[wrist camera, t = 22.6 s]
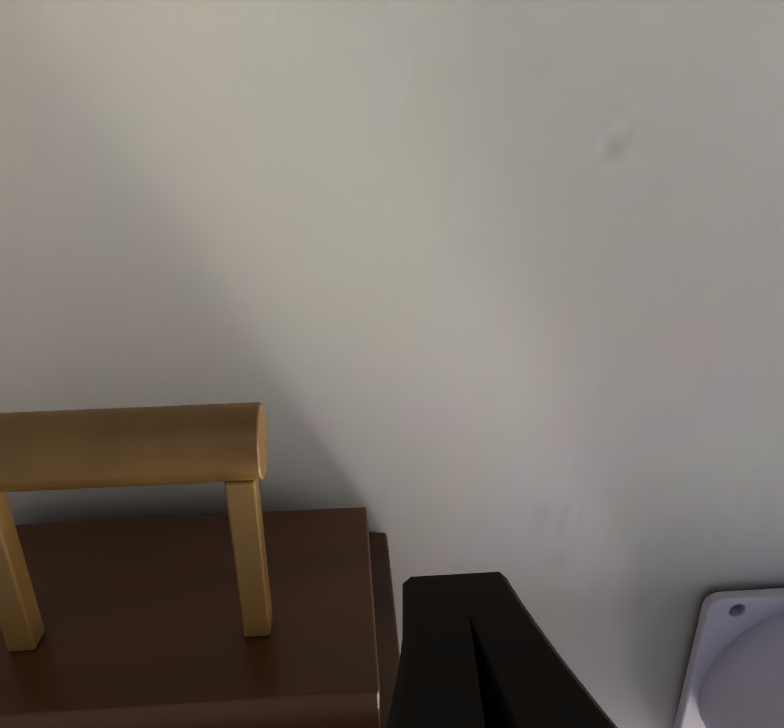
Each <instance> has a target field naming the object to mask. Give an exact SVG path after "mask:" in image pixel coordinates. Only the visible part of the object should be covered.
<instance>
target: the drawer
mask: <svg viewBox="0 0 784 728" xmlns="http://www.w3.org/2000/svg"><path fill="white" fill-rule="evenodd" d="M266 468H267V426H266V417H265V411H264V407H263V405H262V403H260V402H255V403H231V404H207V405H182V406H158V407H133V408H109V409H85V410H60V411H36V412H11V413H0V728H380V726H381V720H380V685H379V671H378V657H377V643H376V629H375V615H374V601H373V587H372V573H371V560H370V546H369V532H368V518H367V509H366V508H365V507H357V508H337V509H318V510H298V511H279V512H262V508H261V498H260V488H259V480H262V479H264V477H265V474H266ZM224 481H225V484H224V486H225V493H226V501H227V509H228V514H220V515H200V516H181V517H161V518H142V519H122V520H102V521H83V522H63V523H44V524H24V525H15V523H14V520H13V516H12V512H11V509H10V505H9V502H8V498H7V495H6V492H16V491H37V490H58V489H79V488H100V487H120V486H141V485H162V484H183V483H204V482H224Z"/></svg>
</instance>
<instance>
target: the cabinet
mask: <svg viewBox="0 0 784 728" xmlns="http://www.w3.org/2000/svg"><path fill="white" fill-rule="evenodd" d="M369 546H370V560H371V573H372V587H373V601H374V615H375V629H376V643H377V657H378V671H379V685H380V720H381V726H380V728H386V726H387V722H388V717H389V713H390V709H391V703H392V698H393V693H394V688H395V683H396V678H397V672H398V667H399V662H400V652H399V643H398V633H397V624H396V615H395V606H394V596H393V587H392V578H391V569H390V559H389V550H388V542H387V535H386V533H369Z"/></svg>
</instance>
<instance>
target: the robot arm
mask: <svg viewBox="0 0 784 728" xmlns="http://www.w3.org/2000/svg"><path fill="white" fill-rule="evenodd" d="M734 605H735V606H734ZM733 606H734V607H733ZM386 728H618V727H617V726H616V725H615V724H614V723H613V721H612V720H611V719H610V718H609V717H608V716H607V714H606V713H605V712H604V711H603V710H602V708H601V707H600V706H599V705H598V703H597V702H596V701H595V700H594V698H593V697H592V696H591V695H590V693H589V692H588V691H587V690H586V688H585V687H584V686H583V685H582V683H581V682H580V681H579V680H578V678H577V677H576V676H575V674H574V673H573V672H572V671H571V669H570V668H569V667H568V666H567V664H566V663H565V662H564V660H563V659H562V658H561V656H560V655H559V654H558V652H557V651H556V650H555V648H554V647H553V646H552V644H551V643H550V641H549V640H548V639H547V637H546V636H545V635H544V633H543V632H542V630H541V629H540V628H539V626H538V625H537V623H536V622H535V621H534V619H533V618H532V616H531V615H530V613H529V612H528V610H527V609H526V608H525V606H524V605H523V603H522V602H521V600H520V599H519V597H518V596H517V594H516V592H515V591H514V589H513V588H512V586H511V585H510V583H509V581H508V580H507V578H506V577H504V576H503V575H502V574H501V573H500V572H487V573H470V574H453V575H435V576H418V577H410V578H409V579H408V580H407V581H406V582H404V583H403V639H402V647H401V655H400V662H399V667H398V672H397V678H396V683H395V688H394V693H393V698H392V703H391V709H390V713H389V717H388V722H387V726H386ZM674 728H784V588H774V589H757V590H741V591H724V592H716V593H713V594H711V595H709V596H708V597H707V598H706V599H705V600H704V602H703V604H702V607H701V612H700V616H699V620H698V625H697V629H696V633H695V638H694V642H693V646H692V651H691V655H690V659H689V663H688V668H687V672H686V676H685V681H684V685H683V689H682V694H681V698H680V702H679V707H678V711H677V715H676V719H675V724H674Z"/></svg>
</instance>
